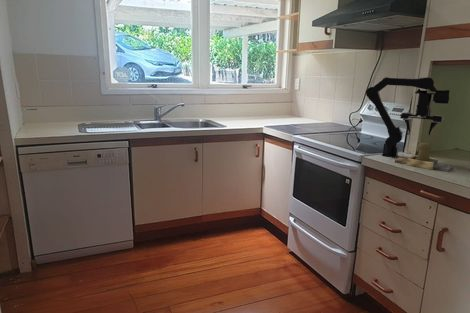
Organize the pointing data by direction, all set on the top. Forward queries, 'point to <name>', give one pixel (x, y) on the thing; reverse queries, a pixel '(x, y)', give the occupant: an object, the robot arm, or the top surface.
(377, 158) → the top surface
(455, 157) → the top surface
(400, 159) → the wooden tray
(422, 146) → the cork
